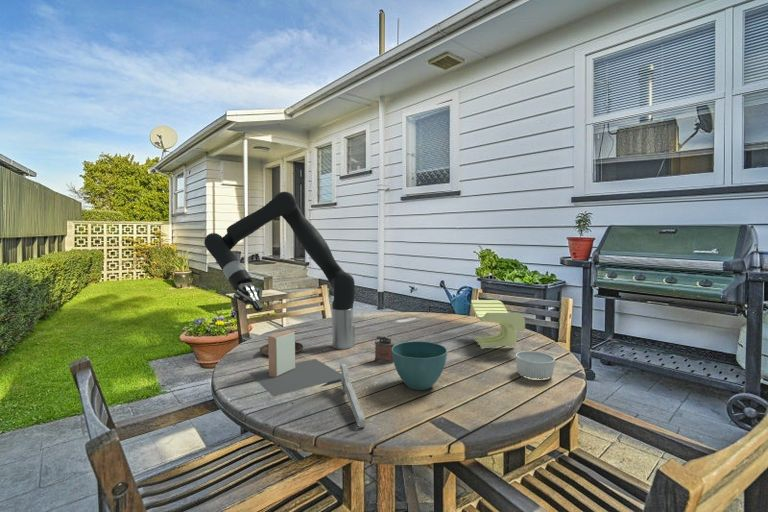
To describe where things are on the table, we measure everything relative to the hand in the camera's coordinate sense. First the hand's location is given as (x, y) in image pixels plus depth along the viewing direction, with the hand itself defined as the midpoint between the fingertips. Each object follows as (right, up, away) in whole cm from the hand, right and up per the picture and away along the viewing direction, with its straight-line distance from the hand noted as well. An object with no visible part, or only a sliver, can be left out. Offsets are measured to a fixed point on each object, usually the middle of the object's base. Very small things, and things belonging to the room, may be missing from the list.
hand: (260, 310), depth 143 cm
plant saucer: (+3, -21, +18) cm, 28 cm away
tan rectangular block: (+10, -21, -6) cm, 24 cm away
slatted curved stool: (+97, -20, +32) cm, 104 cm away
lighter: (+46, -22, +9) cm, 52 cm away
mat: (+16, -23, -9) cm, 29 cm away
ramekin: (+100, -23, -6) cm, 102 cm away
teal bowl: (+58, -23, -15) cm, 64 cm away
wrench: (+36, -24, -29) cm, 53 cm away
